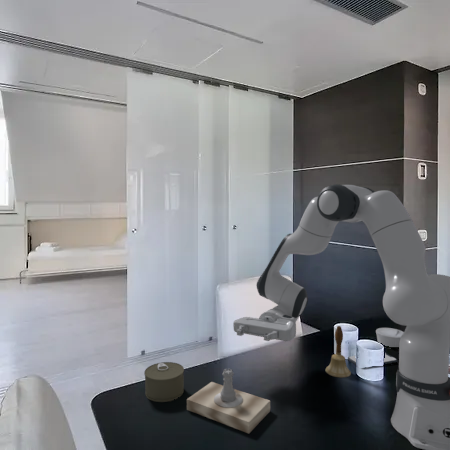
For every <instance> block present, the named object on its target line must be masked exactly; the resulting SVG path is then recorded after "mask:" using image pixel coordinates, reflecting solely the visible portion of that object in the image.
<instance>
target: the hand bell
mask: <svg viewBox="0 0 450 450" xmlns="http://www.w3.org/2000/svg"><path fill="white" fill-rule="evenodd" d="M334 338H335V339H334V340H335V344H336V347H335V348H336V349H335V353H334V354H332V355H331V358H330V363H329V365H328V366H326V368H325V373H326V374H328V376H332V377H335V378H348V377H350V376H351V375H352V372H351V370H349V368H348V367H347V363H346V357H345V356H344V355H343V354H342V343H343V339H344V333H343V329H342V326H341V325H337V327H336V330H335V332H334Z"/></svg>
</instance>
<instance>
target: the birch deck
mask: <svg viewBox="0 0 450 450" xmlns="http://www.w3.org/2000/svg"><path fill="white" fill-rule="evenodd" d="M223 385H224V384H223ZM223 385H222V384H219V383H218V382H217V383H216V382H214V381H211V382H209V383H207V384H206V385H205V386H202V388H200V389H199V390H198V391H196V392H195V393H193V394H192V395H191V396H189V397H187V399H186V410H187V411H189V412H192V413H195V414H198V415H200V416H202V417H206V418H207V419H210V420H211V421H212V420H213V421H216V422H217V423H220V424H223V425H225V426H227V427H231V428H233V429H236V430H239V431H241V432H242V433H243V432H244V433H246V434H249V435H250V433H251V432H252V431H253V430H254V429H255V428H256V427H257V426H258V425H259V423H261V421H263V419H265V417H266V416H267V415H268V414H269V413H270V412H271V400H269V399H267V398H263V397H260V396H257V395H254V394H252V393H251V394H250V393H247V392H245V391H241V390H239V389H236V388H234V391H235V392H236V398H235V400H234V401H232V402H224V401H223V400H222V399H221V398H220V396H221V391H222V389H223Z"/></svg>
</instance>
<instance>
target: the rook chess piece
mask: <svg viewBox="0 0 450 450" xmlns="http://www.w3.org/2000/svg"><path fill="white" fill-rule="evenodd" d="M221 375H222V376H223V378H222V380H223V389H222V391H221V396H220V398H221V399H222V400H223V401H224V402H232V401H234V400H235V398H236V392H235V391H234V389H235V388H234V386H233V381H234V378H233V376H234V375H235V373H234V371H233V369H231V368H224V369H223V372H222V374H221Z"/></svg>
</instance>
